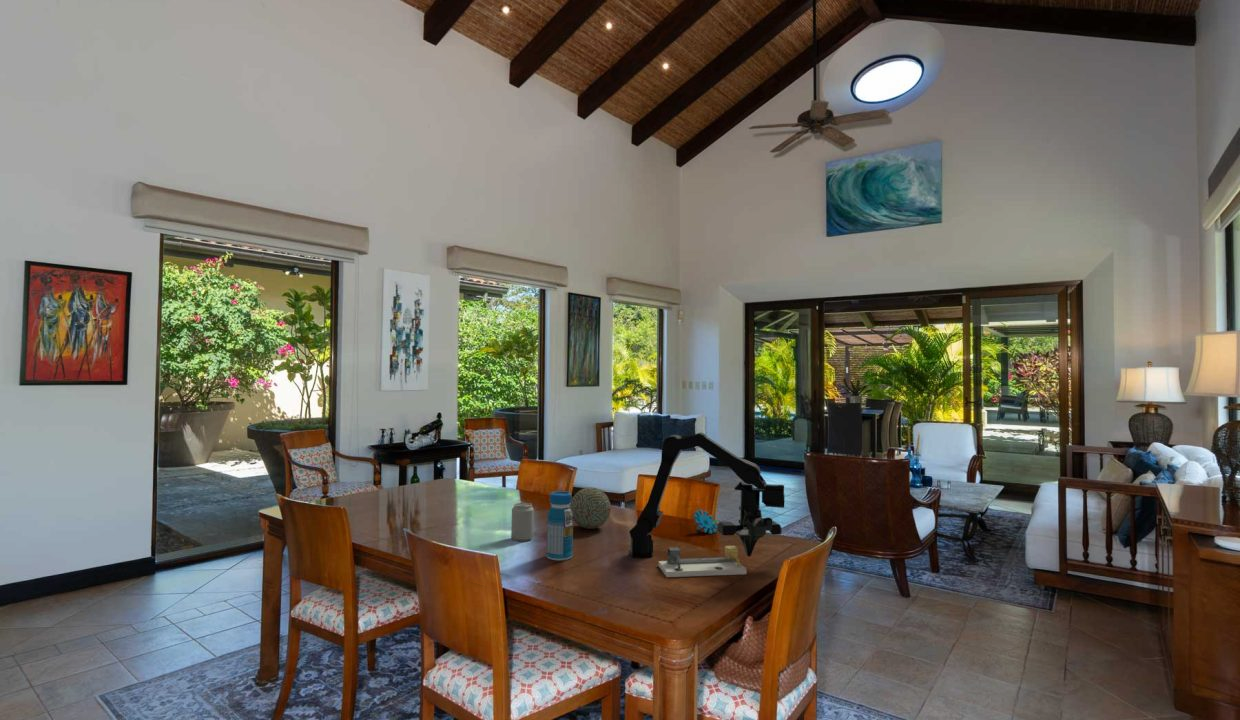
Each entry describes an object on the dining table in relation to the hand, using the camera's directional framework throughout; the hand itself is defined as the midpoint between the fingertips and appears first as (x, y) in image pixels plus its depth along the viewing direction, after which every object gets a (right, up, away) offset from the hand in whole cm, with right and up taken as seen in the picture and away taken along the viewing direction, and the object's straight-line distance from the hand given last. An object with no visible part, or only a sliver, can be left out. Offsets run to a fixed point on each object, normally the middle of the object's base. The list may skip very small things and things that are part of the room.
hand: (748, 556), depth 194 cm
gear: (-8, -3, +39) cm, 40 cm away
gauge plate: (-15, -3, -5) cm, 16 cm away
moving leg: (-5, -1, -4) cm, 6 cm away
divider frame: (-14, -1, -5) cm, 15 cm away
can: (-73, -2, +24) cm, 77 cm away
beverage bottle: (-58, -2, +4) cm, 59 cm away
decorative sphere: (-50, -2, +40) cm, 65 cm away
